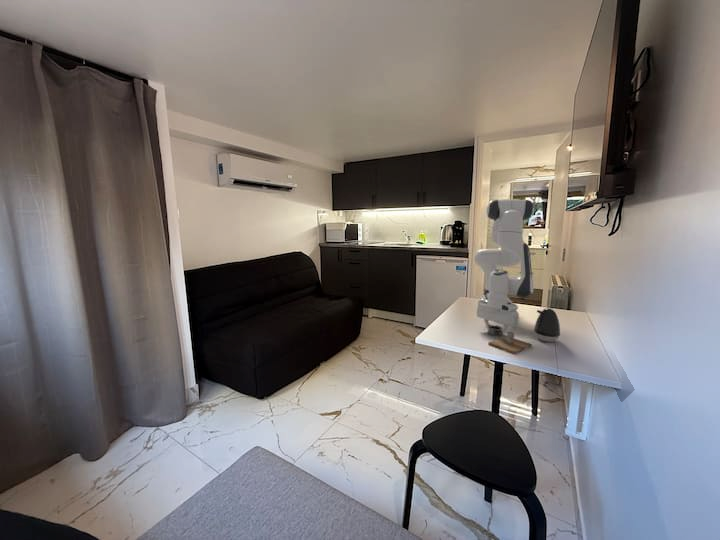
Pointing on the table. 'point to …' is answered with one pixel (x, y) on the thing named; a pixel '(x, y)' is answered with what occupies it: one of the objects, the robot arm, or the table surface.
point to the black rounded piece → (547, 326)
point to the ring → (494, 330)
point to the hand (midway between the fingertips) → (495, 330)
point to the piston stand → (510, 343)
